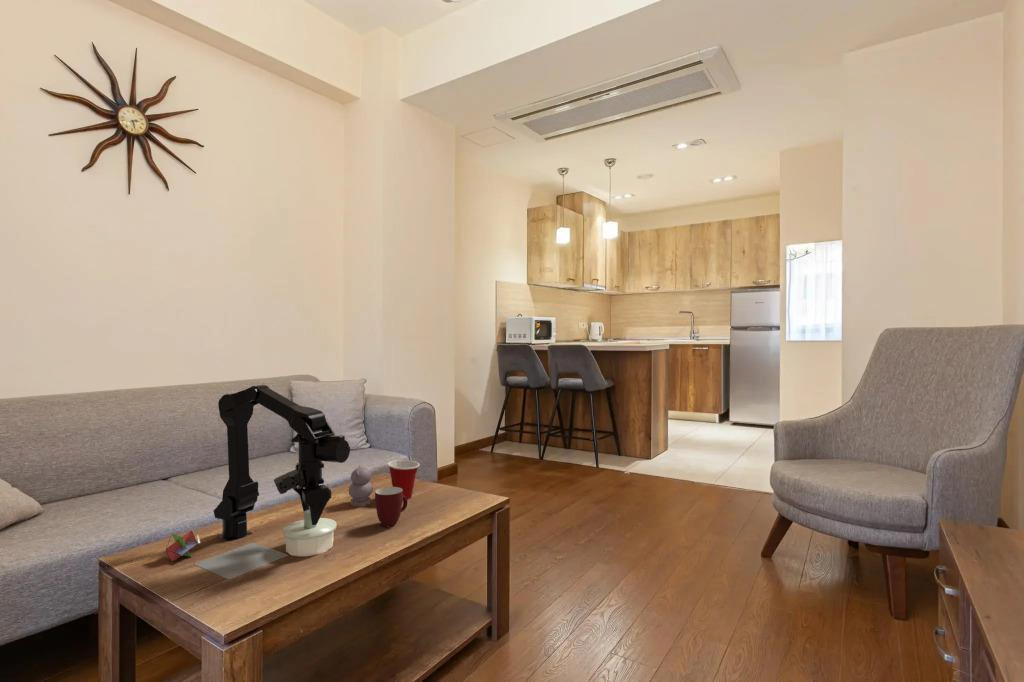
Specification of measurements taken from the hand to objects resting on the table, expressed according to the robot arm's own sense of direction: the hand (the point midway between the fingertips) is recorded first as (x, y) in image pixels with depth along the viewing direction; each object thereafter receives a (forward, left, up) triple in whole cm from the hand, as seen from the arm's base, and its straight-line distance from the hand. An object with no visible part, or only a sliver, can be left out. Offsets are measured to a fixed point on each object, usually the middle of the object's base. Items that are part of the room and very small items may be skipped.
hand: (310, 519), depth 132 cm
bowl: (0, 0, -8) cm, 8 cm away
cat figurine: (-17, +33, -8) cm, 38 cm away
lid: (0, 0, -3) cm, 3 cm away
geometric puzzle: (-22, -20, -8) cm, 31 cm away
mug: (+5, +25, -8) cm, 26 cm away
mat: (-8, -13, -8) cm, 17 cm away
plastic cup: (-9, +45, -8) cm, 46 cm away
